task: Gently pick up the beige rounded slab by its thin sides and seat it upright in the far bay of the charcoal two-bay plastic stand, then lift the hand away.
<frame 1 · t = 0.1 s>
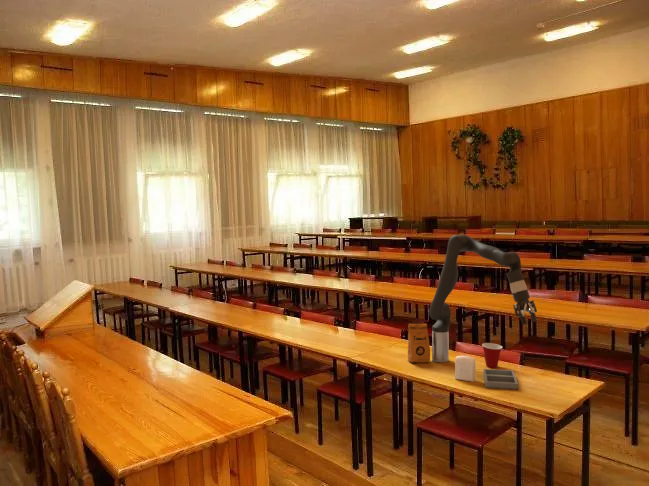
hand: (529, 323, 266), 31 cm above the table, tool tilted 20°, fingers open, 8 cm apart
plastic cup: (492, 366, 301), on the table
coffee package: (418, 361, 313), on the table
beige rounded slab: (465, 380, 280), on the table
bay stand: (499, 381, 276), on the table
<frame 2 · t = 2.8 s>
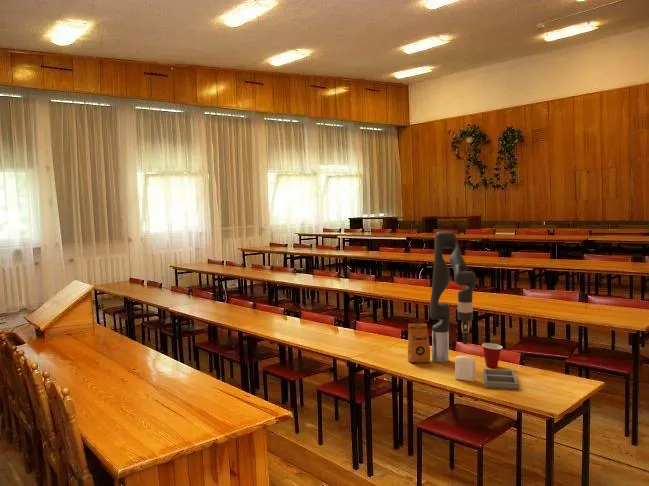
hand: (465, 341, 279), 20 cm above the table, tool pointing down, fingers open, 8 cm apart
nothing on the table moved.
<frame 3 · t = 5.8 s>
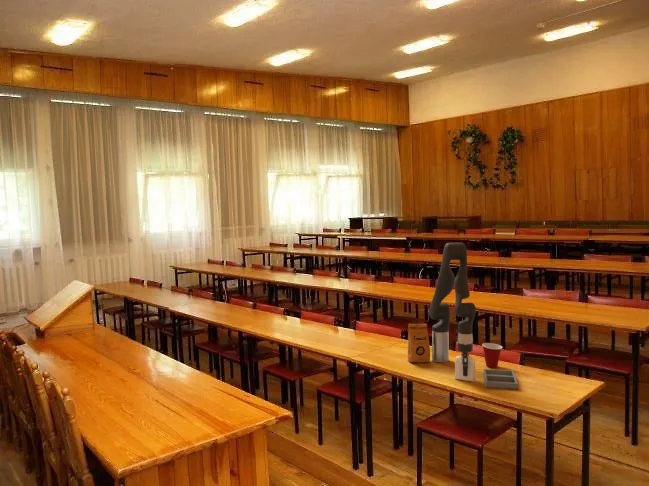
hand: (465, 374, 280), 3 cm above the table, tool pointing down, fingers closed on beige rounded slab, 5 cm apart
beige rounded slab: (465, 380, 280), on the table, touching gripper
everything else where it was.
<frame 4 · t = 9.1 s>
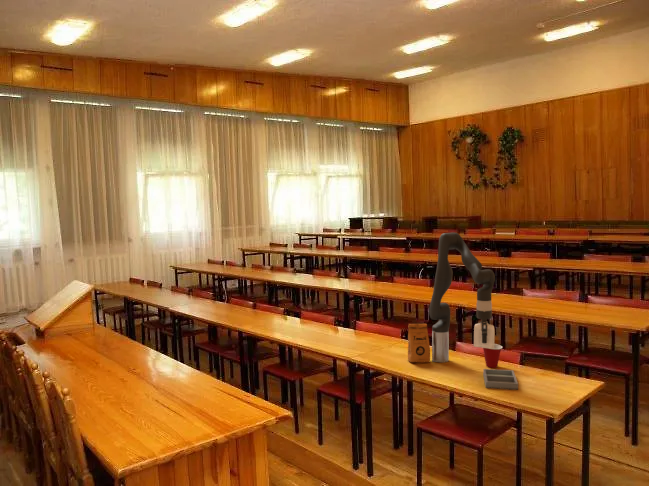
hand: (484, 341, 278), 20 cm above the table, tool pointing down, fingers closed on beige rounded slab, 5 cm apart
beige rounded slab: (484, 347, 279), point 16 cm above the table, touching gripper
everything else where it was.
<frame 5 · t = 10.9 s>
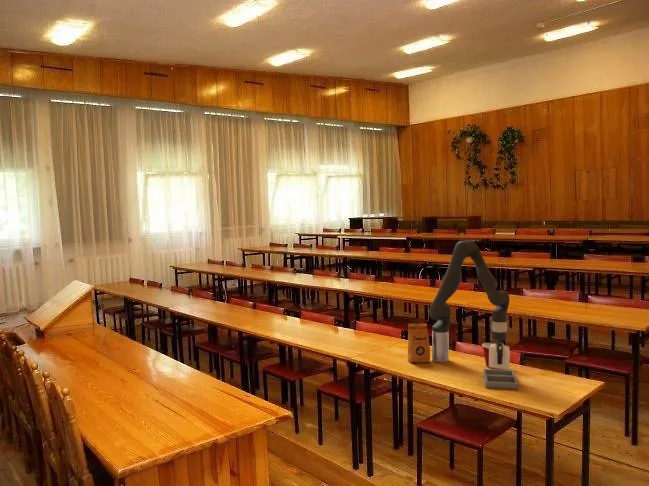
hand: (499, 362, 280), 9 cm above the table, tool pointing down, fingers closed on beige rounded slab, 5 cm apart
beige rounded slab: (499, 368, 280), point 5 cm above the table, touching gripper
everything else where it was.
when the fingers open (5 cm above the table, at t = 12.6 s): beige rounded slab stays where it is, resting on bay stand.
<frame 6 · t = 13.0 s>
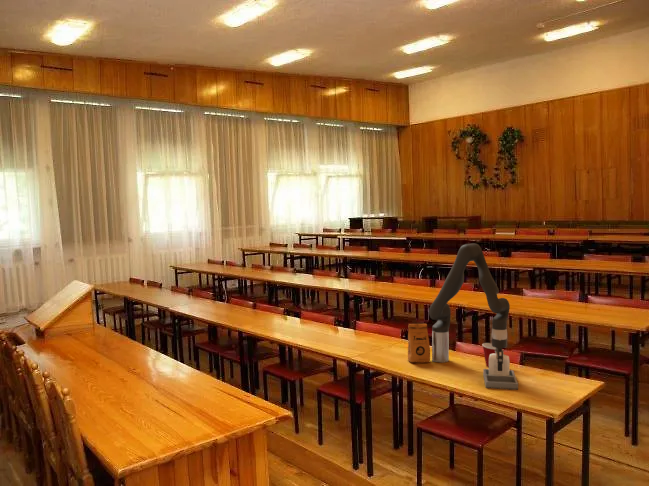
hand: (499, 368, 280), 5 cm above the table, tool pointing down, fingers open, 8 cm apart
beige rounded slab: (498, 377, 281), point 1 cm above the table, touching bay stand
everything else where it was.
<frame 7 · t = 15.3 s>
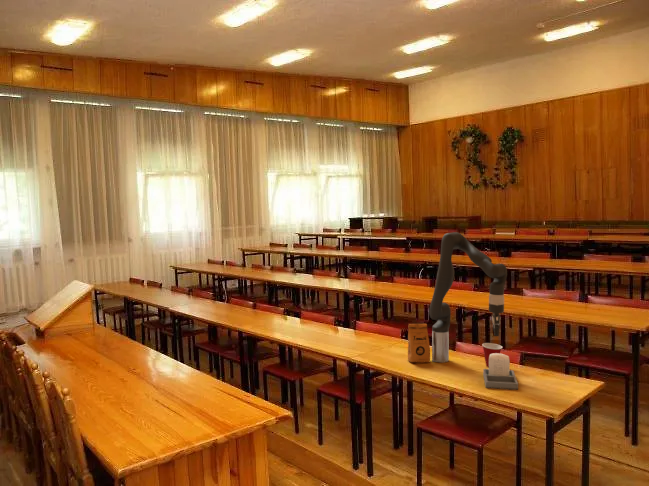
hand: (495, 333, 282), 23 cm above the table, tool pointing down, fingers open, 8 cm apart
nothing on the table moved.
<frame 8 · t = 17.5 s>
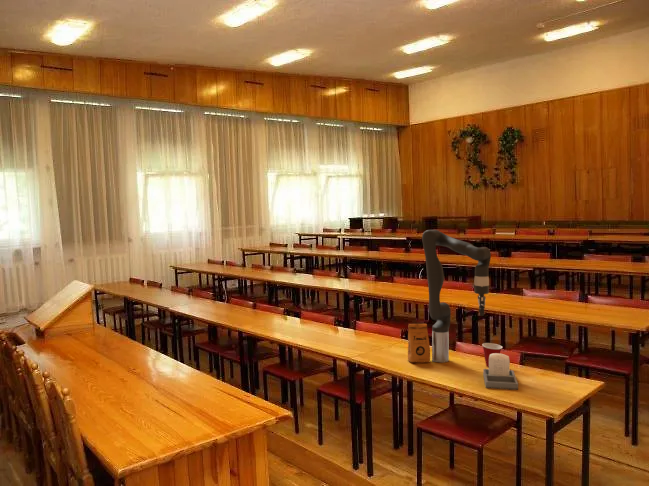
hand: (481, 314, 295), 30 cm above the table, tool pointing down, fingers open, 8 cm apart
nothing on the table moved.
at the end: beige rounded slab 0.1 cm from the target spot on the bay stand, point 0.5 cm above the bay stand's base; beige rounded slab tilted 0°; the gripper is holding nothing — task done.
